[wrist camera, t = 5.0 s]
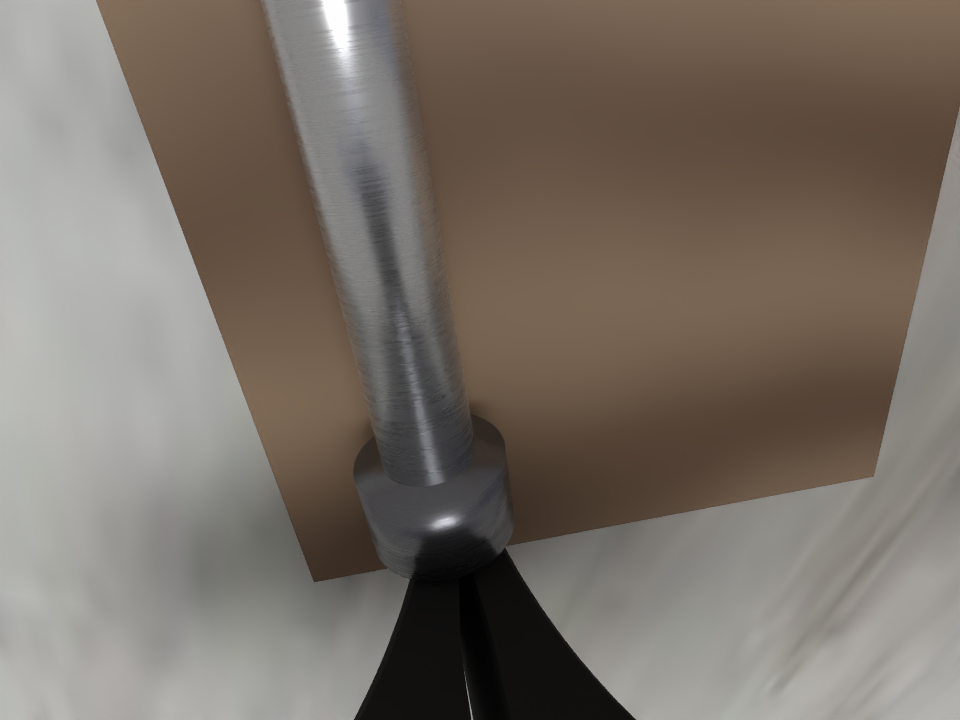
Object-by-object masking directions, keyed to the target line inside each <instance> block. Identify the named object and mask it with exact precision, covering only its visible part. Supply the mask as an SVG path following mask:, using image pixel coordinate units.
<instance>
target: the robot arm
mask: <svg viewBox="0 0 960 720" xmlns="http://www.w3.org/2000/svg"><path fill="white" fill-rule="evenodd" d="M464 671H465V674H464ZM465 677H466V681H465ZM466 682H467V688H468V693H469V698H470V704H471V709H472V715H473V720H636V719H635V718H634V717H633V716H632V715H631V714H630V713H629V712H628V711H627V710H626V709H625V708H624V707H623V706H622V705H621V704H620V703H619V702H618V701H617V700H616V699H615V698H614V697H613V696H612V695H611V694H610V693H609V692H608V691H607V689H606V688H605V687H604V686H603V685H602V684H601V683H600V682H599V681H598V679H597V678H596V677H595V676H594V675H593V674H592V673H591V671H590V670H589V669H588V668H587V667H586V666H585V664H584V663H583V662H582V661H581V660H580V658H579V657H578V656H577V655H576V653H575V652H574V651H573V650H572V648H571V647H570V646H569V645H568V643H567V642H566V641H565V639H564V638H563V637H562V635H561V634H560V633H559V631H558V630H557V629H556V627H555V626H554V625H553V623H552V622H551V620H550V619H549V618H548V616H547V615H546V613H545V612H544V610H543V609H542V608H541V606H540V605H539V603H538V602H537V600H536V598H535V597H534V595H533V594H532V592H531V591H530V589H529V588H528V586H527V585H526V583H525V581H524V580H523V578H522V577H521V575H520V573H519V572H518V570H517V568H516V566H515V565H514V563H513V561H512V559H511V558H510V556H509V554H508V552H507V550H506V548H504V549H503V551H502V552H501V553H500V554H499V555H498V556H497V557H496V558H495V559H494V560H492V561H491V562H490V563H488V564H487V565H486V566H484V567H482V568H481V569H479V570H477V571H475V572H473V573H471V574H468V575H465V576H463V577H460V578H456V579H451V580H445V581H434V582H428V581H418V580H413V579H410V581H409V585H408V588H407V591H406V595H405V598H404V602H403V605H402V608H401V611H400V614H399V617H398V620H397V622H396V625H395V628H394V631H393V633H392V636H391V639H390V642H389V644H388V647H387V649H386V652H385V654H384V657H383V659H382V661H381V664H380V666H379V668H378V671H377V673H376V675H375V677H374V680H373V682H372V684H371V686H370V688H369V691H368V693H367V695H366V697H365V699H364V701H363V703H362V705H361V707H360V709H359V711H358V713H357V715H356V717H355V719H354V720H471V714H470V707H469V701H468V695H467V688H466Z"/></svg>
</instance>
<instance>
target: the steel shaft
mask: <svg viewBox="0 0 960 720" xmlns="http://www.w3.org/2000/svg"><path fill="white" fill-rule="evenodd" d="M260 1H261V5H262V9H263V13H264V16H265V20H266V24H267V28H268V32H269V35H270V39H271V43H272V47H273V51H274V54H275V58H276V62H277V66H278V70H279V73H280V77H281V81H282V85H283V89H284V93H285V96H286V100H287V104H288V108H289V112H290V115H291V119H292V123H293V127H294V131H295V134H296V138H297V142H298V146H299V150H300V153H301V157H302V161H303V165H304V169H305V172H306V176H307V180H308V184H309V188H310V192H311V195H312V199H313V203H314V207H315V211H316V214H317V218H318V222H319V226H320V230H321V233H322V237H323V241H324V245H325V249H326V252H327V256H328V260H329V264H330V268H331V271H332V275H333V279H334V283H335V287H336V290H337V294H338V298H339V302H340V306H341V310H342V313H343V317H344V321H345V325H346V329H347V332H348V336H349V340H350V344H351V348H352V351H353V355H354V359H355V363H356V367H357V370H358V374H359V378H360V382H361V386H362V389H363V393H364V397H365V401H366V405H367V408H368V412H369V416H370V420H371V424H372V428H373V431H374V436H373V437H372V438H371V439H370V440H369V441H368V442H367V443H366V444H365V445H364V446H363V447H362V449H361V450H360V452H359V453H358V455H357V457H356V460H355V462H354V468H353V475H354V480H355V483H356V487H357V490H358V493H359V497H360V500H361V504H362V507H363V510H364V514H365V517H366V521H367V524H368V527H369V531H370V534H371V538H372V541H373V544H374V548H375V551H376V553H377V555H378V557H379V559H380V560H381V561H382V563H383V564H384V565H385V566H386V567H387V568H389V569H390V570H391V571H393V572H394V573H396V574H398V575H400V576H403V577H406V578H409V579H413V580H418V581H428V582H434V581H445V580H451V579H456V578H460V577H463V576H465V575H468V574H471V573H473V572H475V571H477V570H479V569H481V568H482V567H484V566H486V565H487V564H488V563H490V562H491V561H492V560H494V559H495V558H496V557H497V556H498V555H499V554H500V553H501V552H502V551H503V549H504V548H505V547H506V545H507V544H508V542H509V540H510V539H511V536H512V533H513V530H514V526H515V515H514V507H513V500H512V493H511V485H510V478H509V471H508V464H507V456H506V449H505V442H504V439H503V437H502V435H501V433H500V432H499V430H498V429H497V428H496V427H495V426H494V425H493V424H491V423H490V422H488V421H487V420H485V419H483V418H481V417H478V416H475V415H472V414H470V410H469V404H468V398H467V392H466V386H465V380H464V374H463V368H462V362H461V356H460V350H459V344H458V338H457V332H456V326H455V320H454V314H453V308H452V302H451V296H450V290H449V284H448V278H447V272H446V266H445V260H444V254H443V248H442V242H441V236H440V230H439V224H438V218H437V212H436V206H435V200H434V194H433V188H432V182H431V176H430V170H429V164H428V157H427V151H426V145H425V139H424V133H423V127H422V121H421V115H420V109H419V103H418V97H417V91H416V85H415V79H414V73H413V67H412V61H411V55H410V49H409V43H408V37H407V31H406V25H405V19H404V13H403V7H402V1H401V0H260Z"/></svg>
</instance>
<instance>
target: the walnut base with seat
mask: <svg viewBox="0 0 960 720" xmlns="http://www.w3.org/2000/svg"><path fill="white" fill-rule="evenodd" d="M401 1H402V7H403V13H404V19H405V25H406V31H407V37H408V43H409V49H410V55H411V61H412V67H413V73H414V79H415V85H416V91H417V97H418V103H419V109H420V115H421V121H422V127H423V133H424V139H425V145H426V151H427V157H428V164H429V170H430V176H431V182H432V188H433V194H434V200H435V206H436V212H437V218H438V224H439V230H440V236H441V242H442V248H443V254H444V260H445V266H446V272H447V278H448V284H449V290H450V296H451V302H452V308H453V314H454V320H455V326H456V332H457V338H458V344H459V350H460V356H461V362H462V368H463V374H464V380H465V386H466V392H467V398H468V404H469V410H470V414H472V415H475V416H478V417H481V418H483V419H485V420H487V421H488V422H490V423H491V424H493V425H494V426H495V427H496V428H497V429H498V430H499V432H500V433H501V435H502V437H503V439H504V442H505V449H506V456H507V464H508V471H509V478H510V485H511V493H512V500H513V507H514V515H515V526H514V530H513V533H512V536H511V539H510V540H509V542H508V544H507V545H506V546H508V545H513V544H519V543H524V542H529V541H535V540H540V539H545V538H550V537H556V536H561V535H566V534H572V533H577V532H582V531H588V530H593V529H598V528H603V527H609V526H614V525H619V524H625V523H630V522H635V521H640V520H646V519H651V518H656V517H662V516H667V515H672V514H678V513H683V512H688V511H693V510H699V509H704V508H709V507H715V506H720V505H725V504H730V503H736V502H741V501H746V500H752V499H757V498H762V497H768V496H773V495H778V494H783V493H789V492H794V491H799V490H805V489H810V488H815V487H820V486H826V485H831V484H836V483H842V482H847V481H852V480H858V479H863V478H868V477H873V476H874V473H875V469H876V464H877V460H878V456H879V451H880V447H881V443H882V438H883V434H884V430H885V425H886V421H887V417H888V413H889V408H890V404H891V400H892V395H893V391H894V387H895V382H896V378H897V374H898V369H899V365H900V361H901V357H902V352H903V348H904V344H905V339H906V335H907V331H908V326H909V322H910V318H911V313H912V309H913V305H914V301H915V296H916V292H917V288H918V283H919V279H920V275H921V270H922V266H923V262H924V257H925V253H926V249H927V244H928V240H929V236H930V232H931V227H932V223H933V219H934V214H935V210H936V206H937V201H938V197H939V193H940V188H941V184H942V180H943V176H944V171H945V167H946V163H947V158H948V154H949V150H950V145H951V141H952V137H953V132H954V128H955V124H956V119H957V115H958V111H959V107H960V0H401ZM96 2H97V4H98V7H99V10H100V12H101V15H102V18H103V20H104V23H105V26H106V28H107V31H108V34H109V36H110V39H111V42H112V44H113V47H114V50H115V52H116V55H117V58H118V60H119V63H120V66H121V68H122V71H123V74H124V76H125V79H126V82H127V84H128V87H129V90H130V92H131V95H132V98H133V100H134V103H135V106H136V108H137V111H138V114H139V116H140V119H141V122H142V124H143V127H144V130H145V132H146V135H147V138H148V140H149V143H150V146H151V148H152V151H153V154H154V156H155V159H156V162H157V164H158V167H159V170H160V172H161V175H162V178H163V180H164V183H165V186H166V188H167V191H168V194H169V196H170V199H171V202H172V204H173V207H174V210H175V212H176V215H177V218H178V220H179V223H180V226H181V228H182V231H183V234H184V236H185V239H186V242H187V244H188V247H189V250H190V252H191V255H192V258H193V260H194V263H195V266H196V268H197V271H198V274H199V276H200V279H201V282H202V284H203V287H204V290H205V292H206V295H207V298H208V300H209V303H210V306H211V308H212V311H213V314H214V316H215V319H216V322H217V324H218V327H219V330H220V332H221V335H222V338H223V340H224V343H225V346H226V348H227V351H228V354H229V356H230V359H231V362H232V364H233V367H234V370H235V372H236V375H237V378H238V380H239V383H240V386H241V388H242V391H243V394H244V396H245V399H246V402H247V404H248V407H249V410H250V412H251V415H252V418H253V420H254V423H255V426H256V428H257V431H258V434H259V436H260V439H261V442H262V444H263V447H264V450H265V452H266V455H267V458H268V460H269V463H270V466H271V468H272V471H273V474H274V476H275V479H276V482H277V484H278V487H279V490H280V492H281V495H282V498H283V500H284V503H285V506H286V508H287V511H288V514H289V516H290V519H291V522H292V524H293V527H294V530H295V532H296V535H297V538H298V540H299V543H300V546H301V548H302V551H303V554H304V556H305V559H306V562H307V564H308V567H309V570H310V572H311V575H312V578H313V580H314V582H318V581H323V580H328V579H333V578H339V577H344V576H349V575H355V574H360V573H365V572H370V571H376V570H381V569H386V568H387V567H386V566H385V565H384V564H383V563H382V561H381V560H380V559H379V557H378V555H377V553H376V551H375V548H374V544H373V541H372V538H371V534H370V531H369V527H368V524H367V521H366V517H365V514H364V510H363V507H362V504H361V500H360V497H359V493H358V490H357V487H356V483H355V480H354V475H353V468H354V462H355V460H356V457H357V455H358V453H359V452H360V450H361V449H362V447H363V446H364V445H365V444H366V443H367V442H368V441H369V440H370V439H371V438H372V437H373V436H374V431H373V428H372V424H371V420H370V416H369V412H368V408H367V405H366V401H365V397H364V393H363V389H362V386H361V382H360V378H359V374H358V370H357V367H356V363H355V359H354V355H353V351H352V348H351V344H350V340H349V336H348V332H347V329H346V325H345V321H344V317H343V313H342V310H341V306H340V302H339V298H338V294H337V290H336V287H335V283H334V279H333V275H332V271H331V268H330V264H329V260H328V256H327V252H326V249H325V245H324V241H323V237H322V233H321V230H320V226H319V222H318V218H317V214H316V211H315V207H314V203H313V199H312V195H311V192H310V188H309V184H308V180H307V176H306V172H305V169H304V165H303V161H302V157H301V153H300V150H299V146H298V142H297V138H296V134H295V131H294V127H293V123H292V119H291V115H290V112H289V108H288V104H287V100H286V96H285V93H284V89H283V85H282V81H281V77H280V73H279V70H278V66H277V62H276V58H275V54H274V51H273V47H272V43H271V39H270V35H269V32H268V28H267V24H266V20H265V16H264V13H263V9H262V5H261V1H260V0H96Z"/></svg>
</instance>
